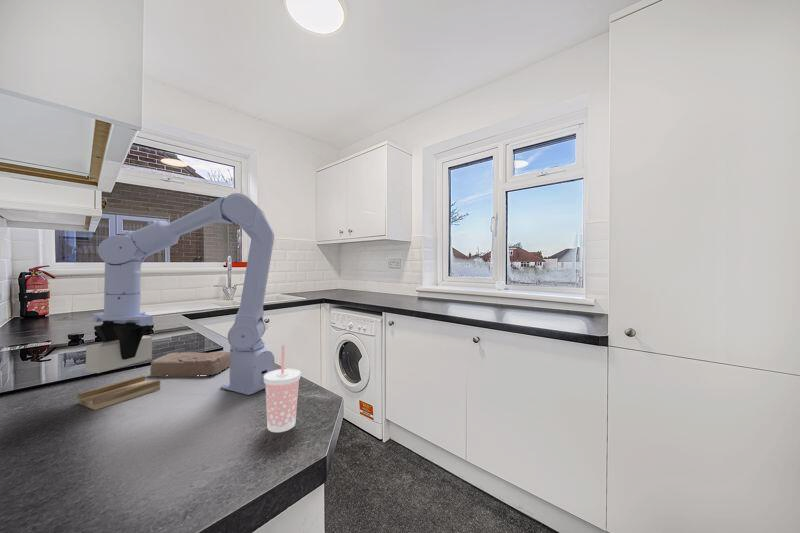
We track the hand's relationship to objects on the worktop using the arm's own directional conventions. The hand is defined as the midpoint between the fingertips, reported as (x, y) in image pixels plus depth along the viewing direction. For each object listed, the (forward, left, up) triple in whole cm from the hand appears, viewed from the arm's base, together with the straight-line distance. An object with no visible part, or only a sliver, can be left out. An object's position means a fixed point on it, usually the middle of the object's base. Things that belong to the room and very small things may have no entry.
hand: (121, 357), depth 64 cm
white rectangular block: (0, 0, -2) cm, 2 cm away
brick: (+2, -16, -9) cm, 19 cm away
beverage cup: (-40, -6, -8) cm, 41 cm away
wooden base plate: (0, 0, -8) cm, 8 cm away
